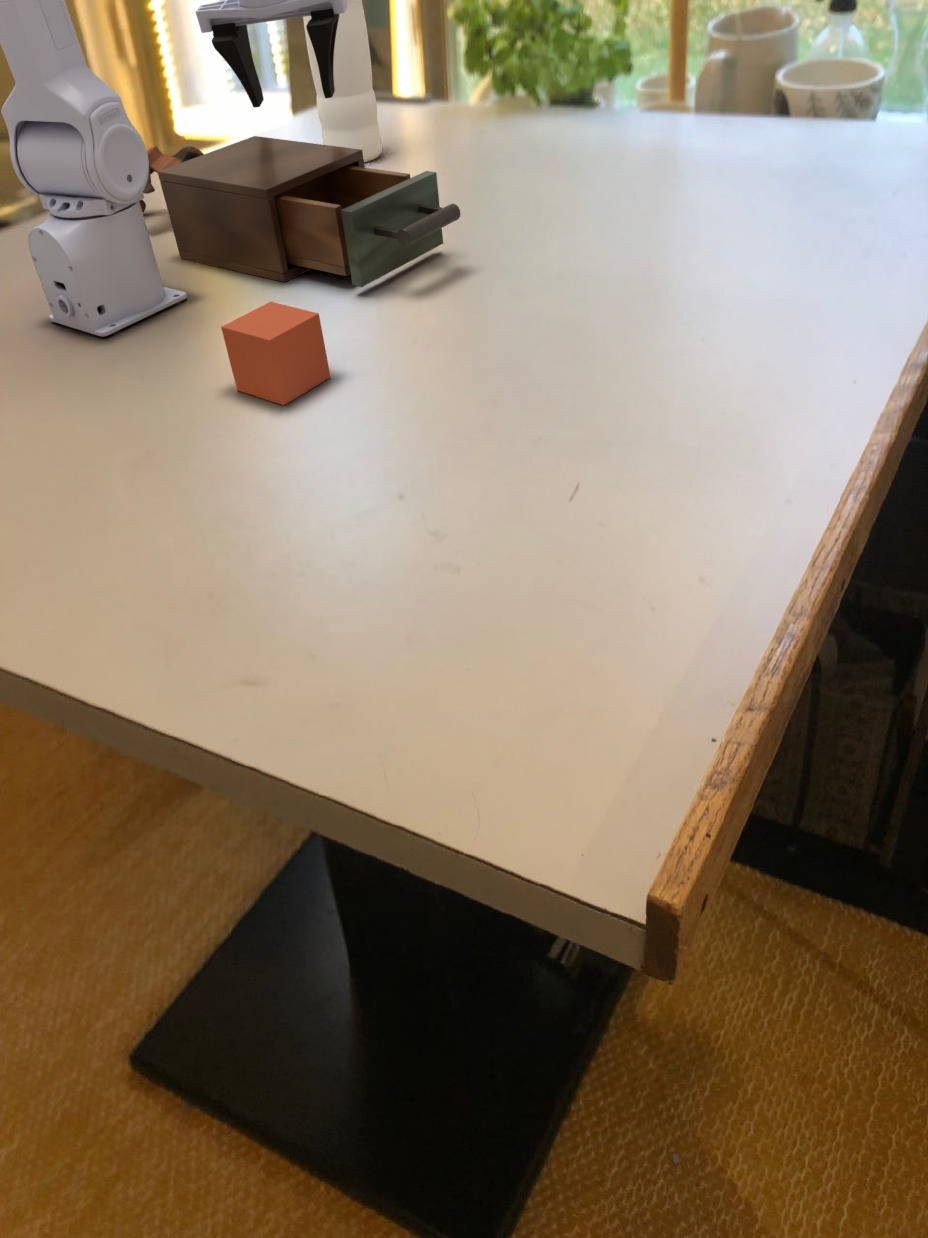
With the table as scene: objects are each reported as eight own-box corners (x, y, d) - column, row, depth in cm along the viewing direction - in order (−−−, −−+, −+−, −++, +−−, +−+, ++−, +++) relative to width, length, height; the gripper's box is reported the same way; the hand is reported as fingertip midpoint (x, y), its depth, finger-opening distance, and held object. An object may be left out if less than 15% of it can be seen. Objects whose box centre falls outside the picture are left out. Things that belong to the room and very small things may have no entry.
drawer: (479, 249, 89) (473, 176, 85) (398, 295, 82) (388, 218, 78) (337, 224, 97) (326, 156, 93) (254, 263, 91) (238, 192, 87)
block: (283, 405, 70) (269, 339, 67) (236, 390, 73) (220, 326, 70) (331, 377, 73) (319, 312, 70) (284, 363, 76) (270, 300, 73)
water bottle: (317, 156, 121) (275, -93, 104) (371, 145, 122) (337, -102, 106) (336, 169, 115) (295, -91, 99) (391, 157, 117) (360, -100, 101)
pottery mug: (182, 243, 101) (122, 173, 97) (142, 270, 108) (85, 206, 104) (247, 177, 106) (192, 109, 102) (205, 207, 113) (153, 144, 109)
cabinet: (374, 237, 96) (362, 149, 91) (284, 282, 89) (265, 189, 84) (271, 217, 104) (254, 135, 98) (180, 258, 96) (156, 171, 91)
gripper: (337, -79, 93) (367, 75, 102) (192, -57, 95) (236, 93, 105) (325, -59, 88) (358, 101, 98) (173, -36, 90) (220, 118, 100)
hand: (294, 98), depth 101 cm, fingers open, 7 cm apart
